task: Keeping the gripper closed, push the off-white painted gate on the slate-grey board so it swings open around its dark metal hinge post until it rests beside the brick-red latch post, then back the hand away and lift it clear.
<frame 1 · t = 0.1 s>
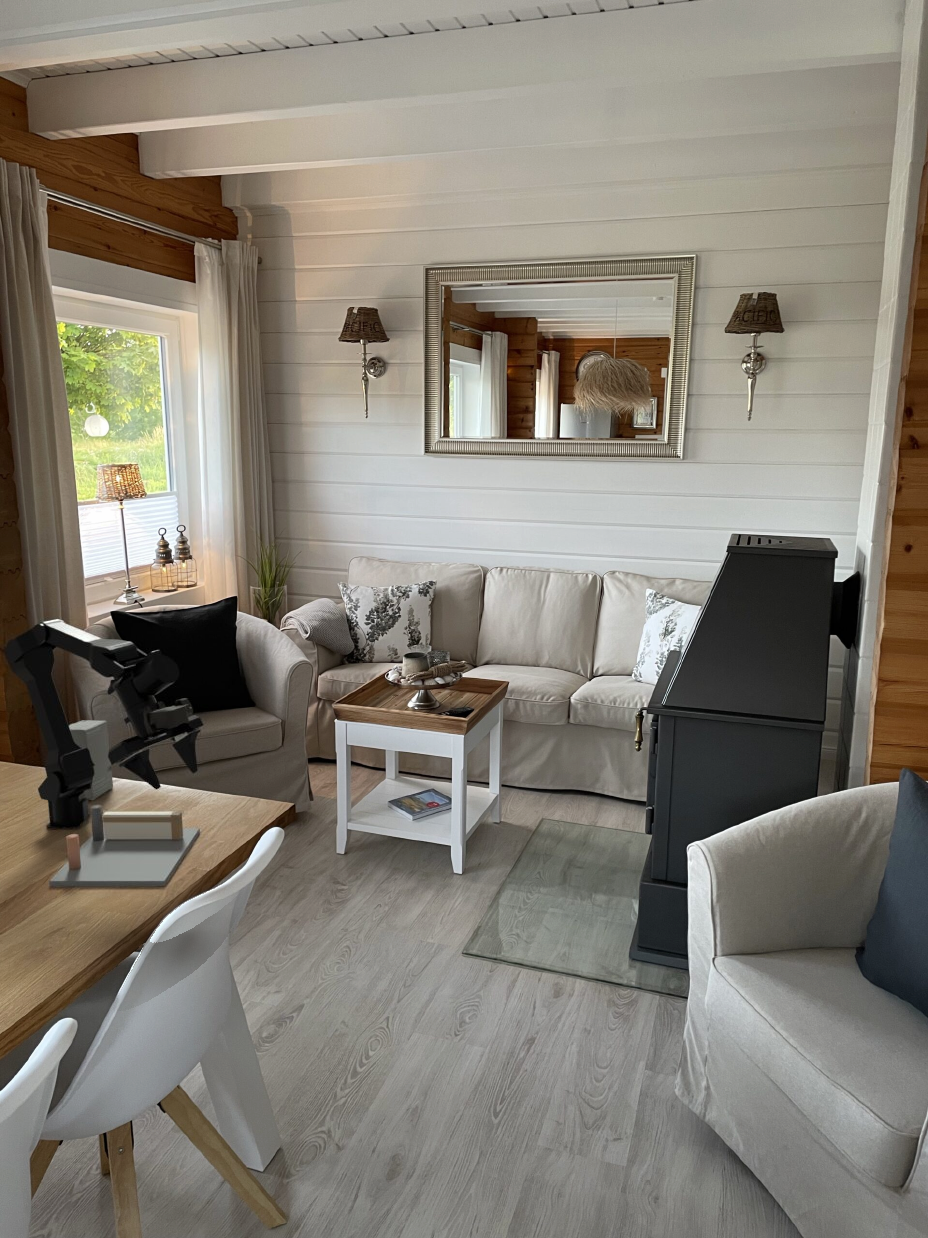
hand: (177, 780, 167), 15 cm above the table, tool tilted 30°, fingers open, 9 cm apart
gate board: (129, 858, 169), on the table
skincare box: (90, 793, 200), on the table
gate: (143, 825, 174), point 4 cm above the table, hinge at 0.0°
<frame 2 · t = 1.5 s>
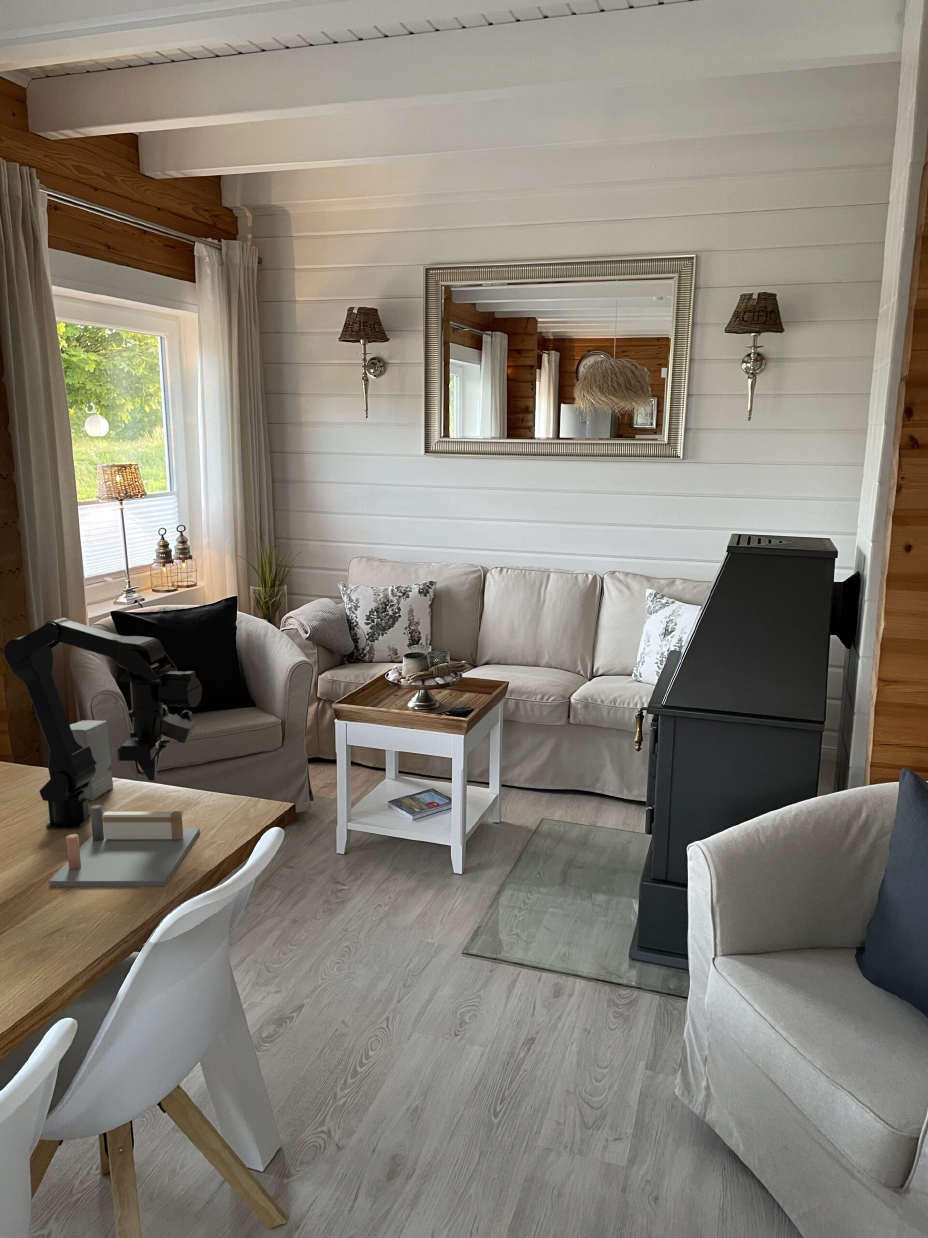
hand: (152, 780, 178), 11 cm above the table, tool pointing down, fingers closed
nothing on the table moved.
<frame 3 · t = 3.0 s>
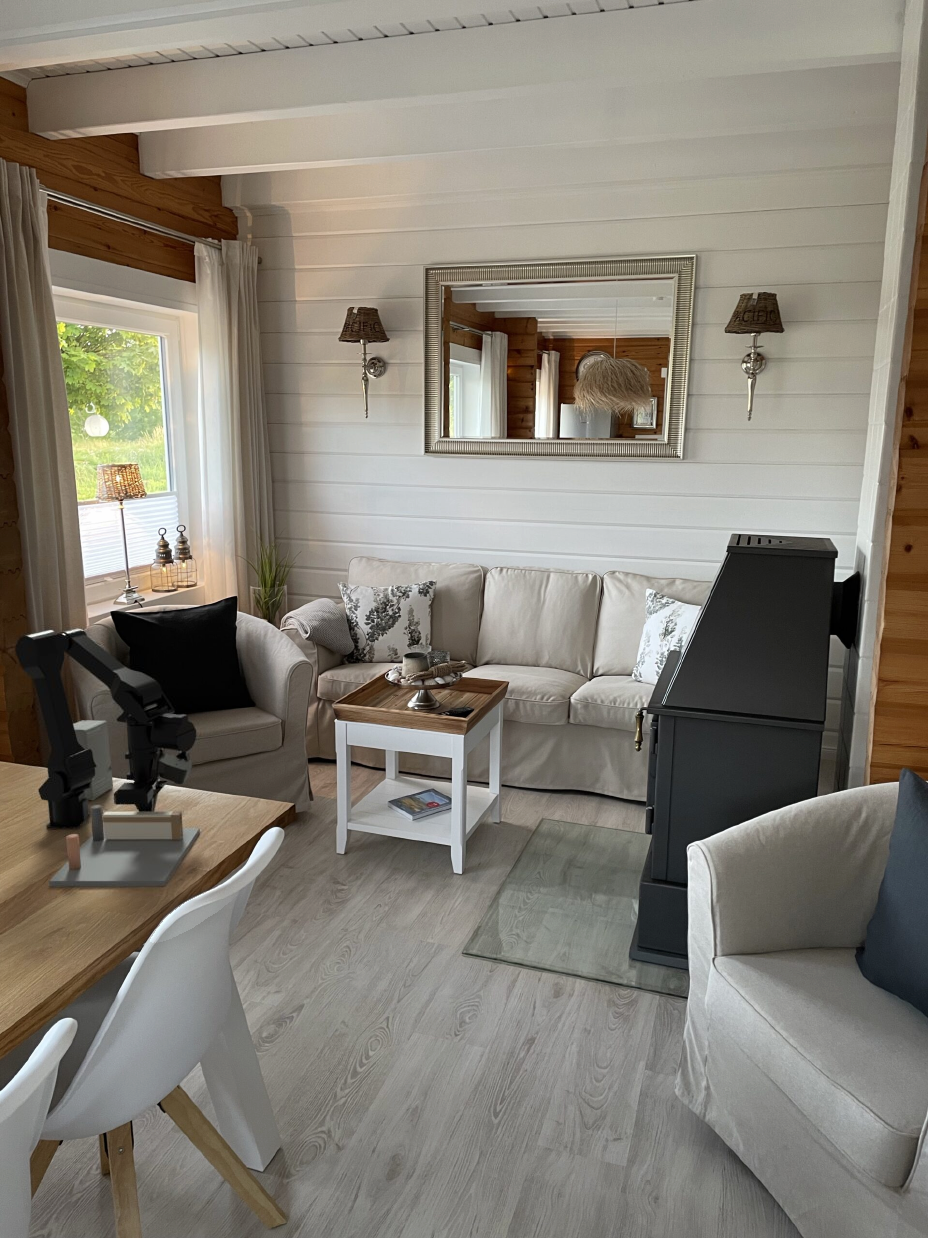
hand: (149, 821, 176), 4 cm above the table, tool pointing down, fingers closed
gate: (143, 825, 174), point 4 cm above the table, hinge at 0.0°, touching gripper
everything else where it was.
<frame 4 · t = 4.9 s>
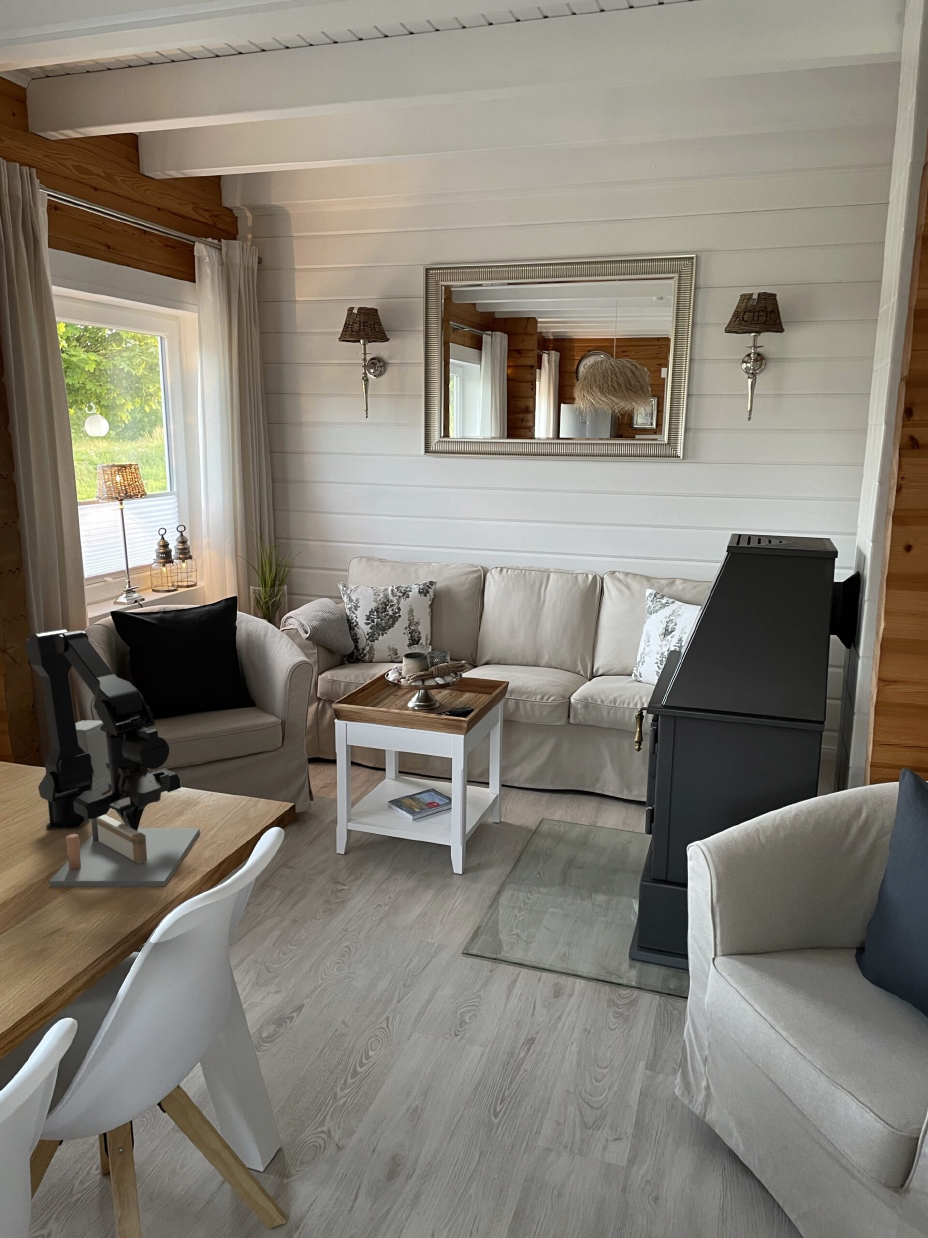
hand: (133, 835, 170), 4 cm above the table, tool pointing down, fingers closed
gate: (121, 838, 168), point 4 cm above the table, hinge at -41.0°, touching gripper
everything else where it was.
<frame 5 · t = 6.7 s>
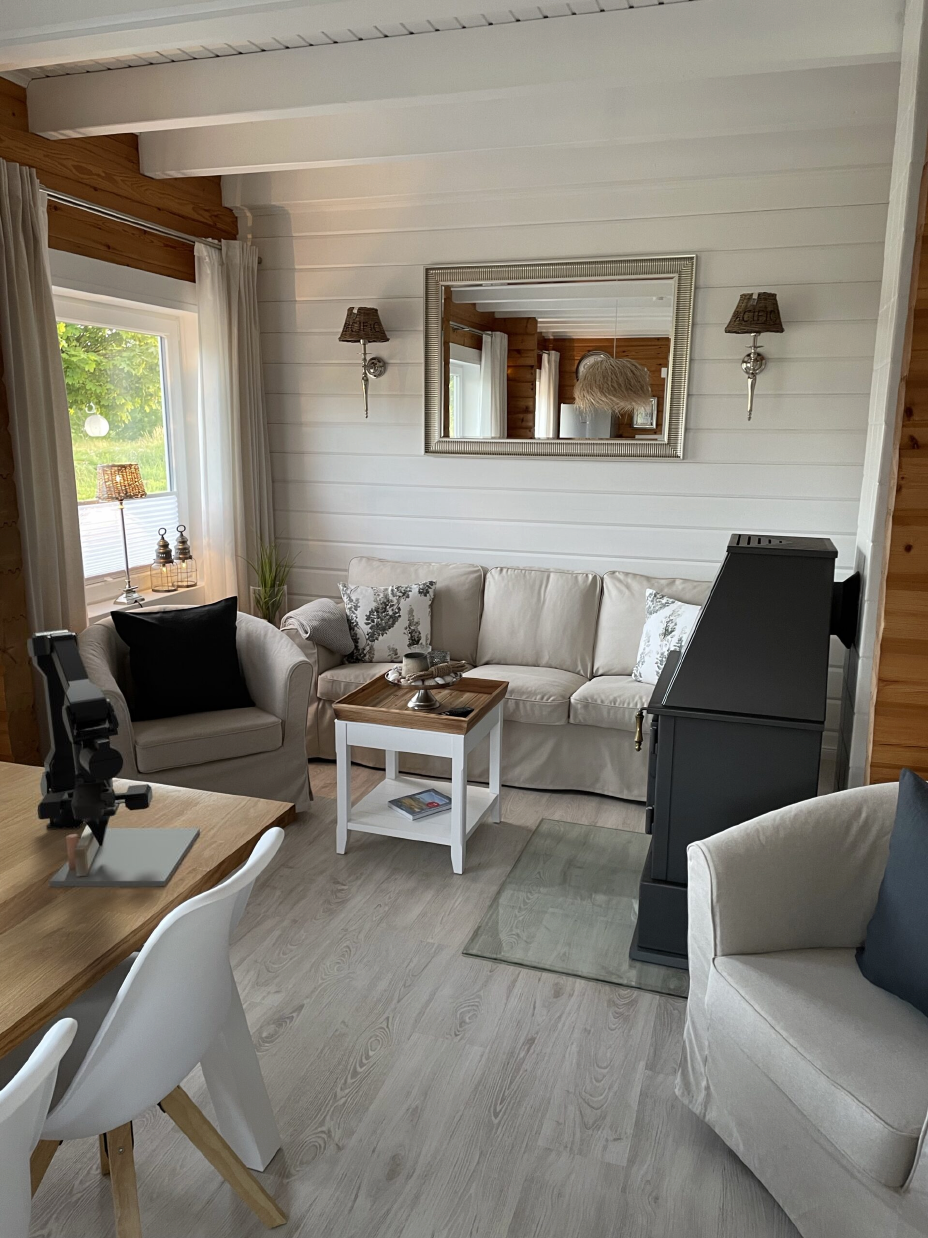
hand: (101, 845, 166), 4 cm above the table, tool pointing down, fingers closed
gate: (88, 845, 165), point 4 cm above the table, hinge at -78.9°, touching gripper
everything else where it was.
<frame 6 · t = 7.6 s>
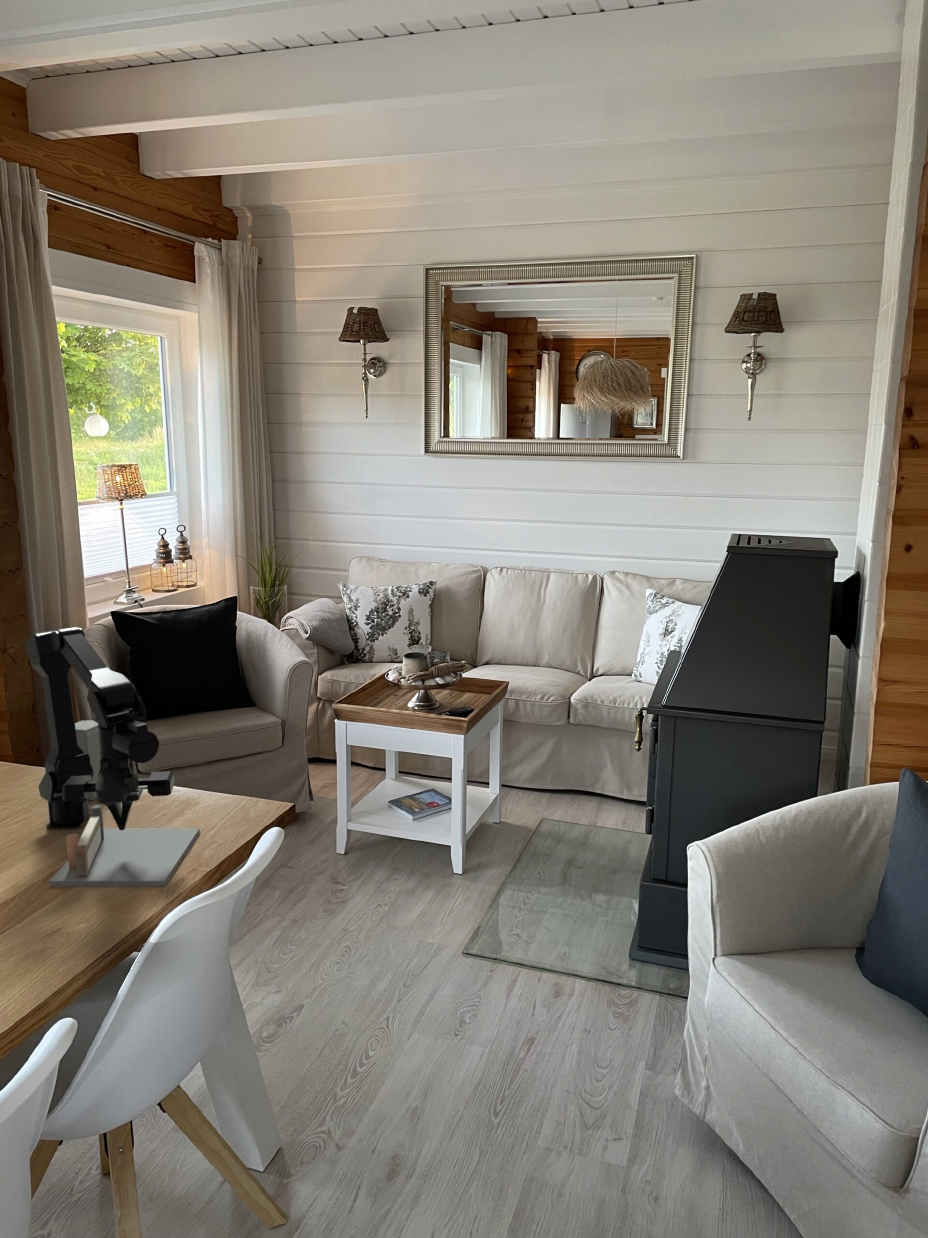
hand: (122, 829, 168), 6 cm above the table, tool pointing down, fingers closed
gate: (88, 845, 165), point 4 cm above the table, hinge at -78.7°
everything else where it was.
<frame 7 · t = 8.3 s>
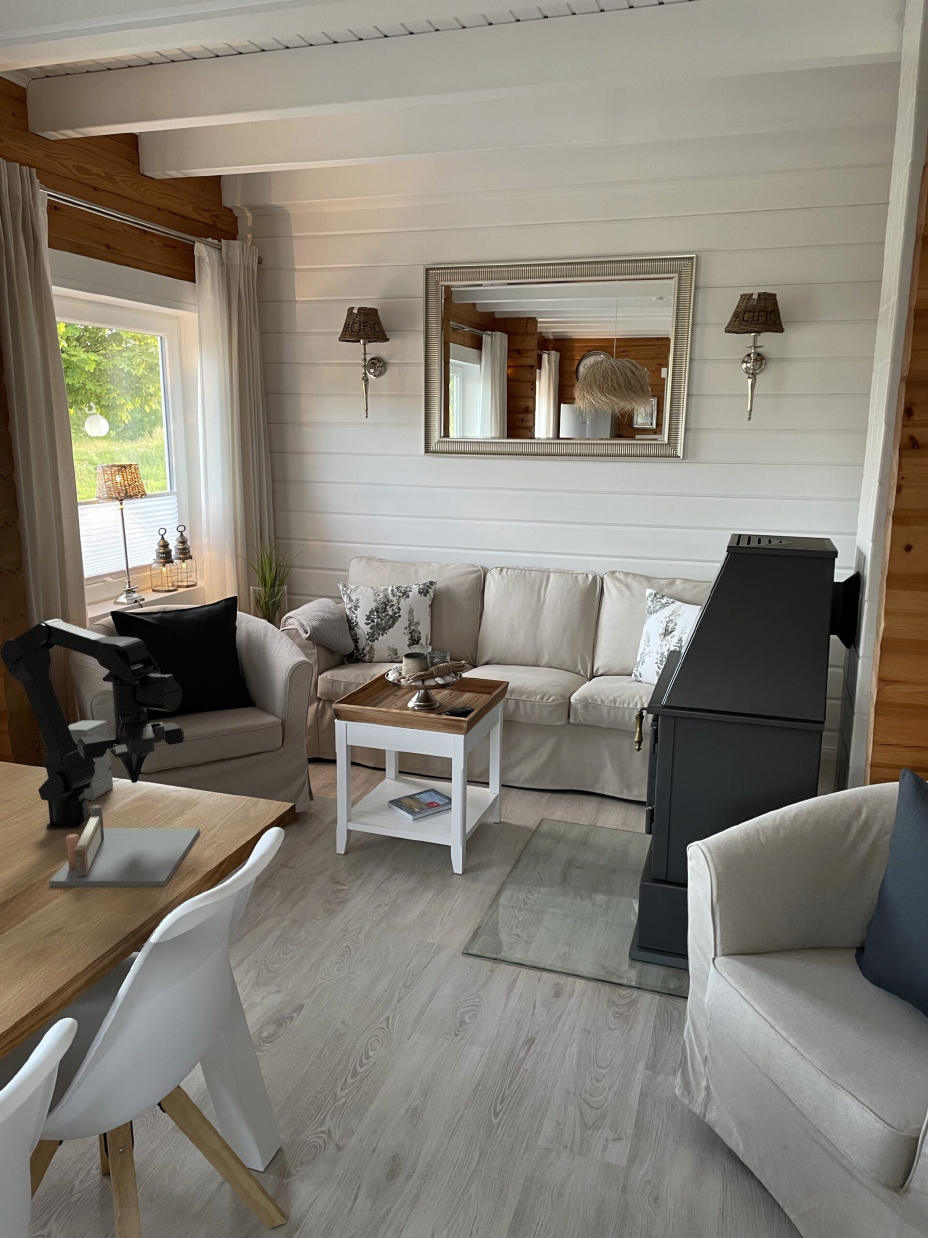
hand: (134, 782, 176), 11 cm above the table, tool pointing down, fingers closed
nothing on the table moved.
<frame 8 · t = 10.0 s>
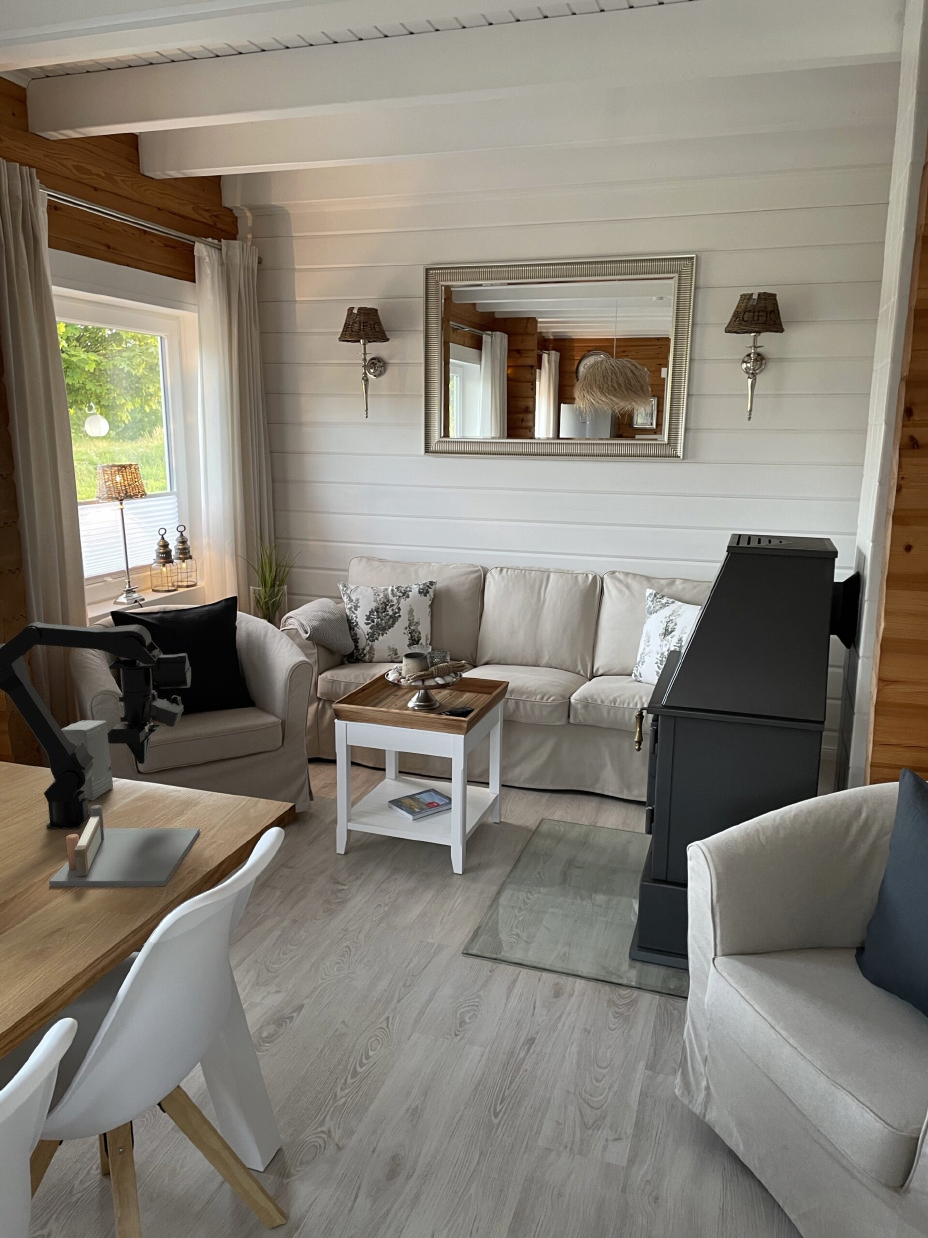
hand: (142, 763, 184), 12 cm above the table, tool pointing down, fingers closed
nothing on the table moved.
at the end: gate at -79° (first picture: +0°); the gripper is holding nothing; skincare box moved 0.2 cm from its start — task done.
